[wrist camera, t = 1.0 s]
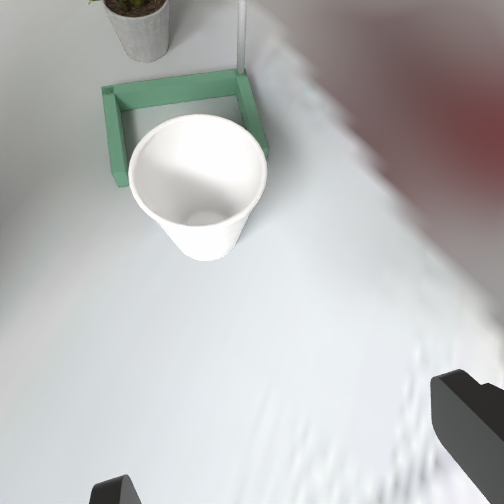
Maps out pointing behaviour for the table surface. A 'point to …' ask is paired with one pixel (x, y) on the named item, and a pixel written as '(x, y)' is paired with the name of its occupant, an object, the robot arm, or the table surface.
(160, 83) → the putting pocket
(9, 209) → the table surface
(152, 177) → the cup
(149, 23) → the house plant
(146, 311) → the table surface
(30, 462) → the table surface
